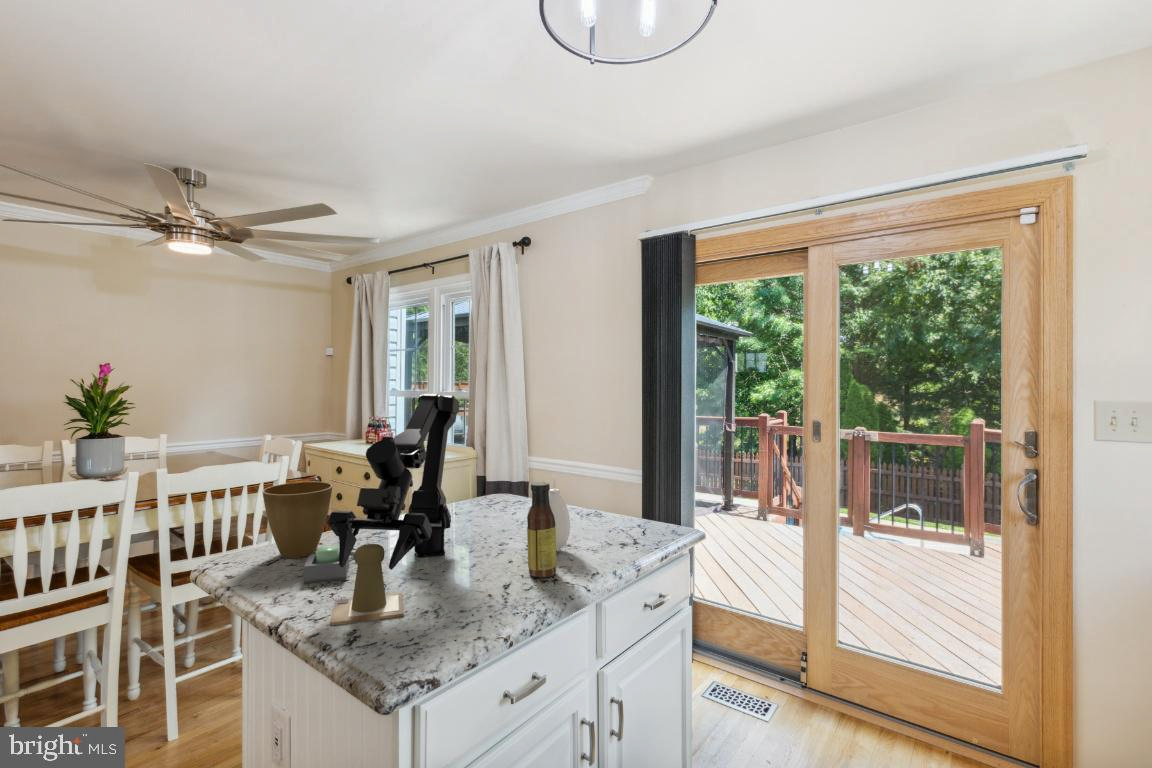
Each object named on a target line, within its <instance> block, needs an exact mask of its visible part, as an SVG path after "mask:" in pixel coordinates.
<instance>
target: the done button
mask: <svg viewBox="0 0 1152 768" xmlns="http://www.w3.org/2000/svg"><path fill="white" fill-rule="evenodd" d="M315 552H316V553H315V554H316V564H317V563H328V562H339V546H336V545H328V546H327V545H326V546H322V547H319V548H317V549H316V551H315Z"/></svg>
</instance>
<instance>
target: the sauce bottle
mask: <svg viewBox="0 0 1152 768" xmlns="http://www.w3.org/2000/svg"><path fill="white" fill-rule="evenodd" d="M550 489H551V488H550V483H549V482H546V481H536V482H532V483H530V490H531V506H530V508H529V510H528V512H527V518H526V519H527V520H526V521H527V522H526V523H527V527H526V533H527V534H526V535H527V536H526V537H527V538H526V539H527V540H526V541H527V567H528V573H529V575H530V576H531V577H534V578H537V577H538V579H544V578H545V579H546V578H551V577H553V576H554V575H555V574H557V552H556V527H555V519H554V514H553V512H552V510H551V507H550V504H549V490H550Z"/></svg>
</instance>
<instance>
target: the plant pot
mask: <svg viewBox="0 0 1152 768" xmlns="http://www.w3.org/2000/svg"><path fill="white" fill-rule="evenodd" d="M332 492H333V484H332V483H330V482H325V481H297V482H288V483H282V484H277V485H271V486H269V487H266V488H264V489H263V490H262V492H261V493H262V498H263V503H264V508H265V513H266V517H267V522H268V524H269V525H268V526H269V528H270V531H271V535H272V537H273V540H274V543H275V544H276V547H277V550H278V552H279V554H280V556H281V557H282V558H285V559H299V558H304V557H309V555H310V554H316V553H315V552H316V550H317V549H318V547H319V544H320V541H321V538H322V535H323V532H324V529H325V526H326V523H327V519H328V513H329V509H330V506H331V498H332Z"/></svg>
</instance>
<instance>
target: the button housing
mask: <svg viewBox="0 0 1152 768" xmlns="http://www.w3.org/2000/svg"><path fill="white" fill-rule="evenodd" d="M349 569H350V557H349V558H348V560H347V562H346V564H345V565H344V567H340V565H339V562H328V563H317V564H316V553H313V554H310V555H309V556H307V559H306V562H305V564H304V566H303V584H312V583H311V582H314V583H323V582H322V581H324V582H332V581H333V582H334V581H342V580H341V579H344V580H347V578H348V574H347V573H348V572H349Z"/></svg>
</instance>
